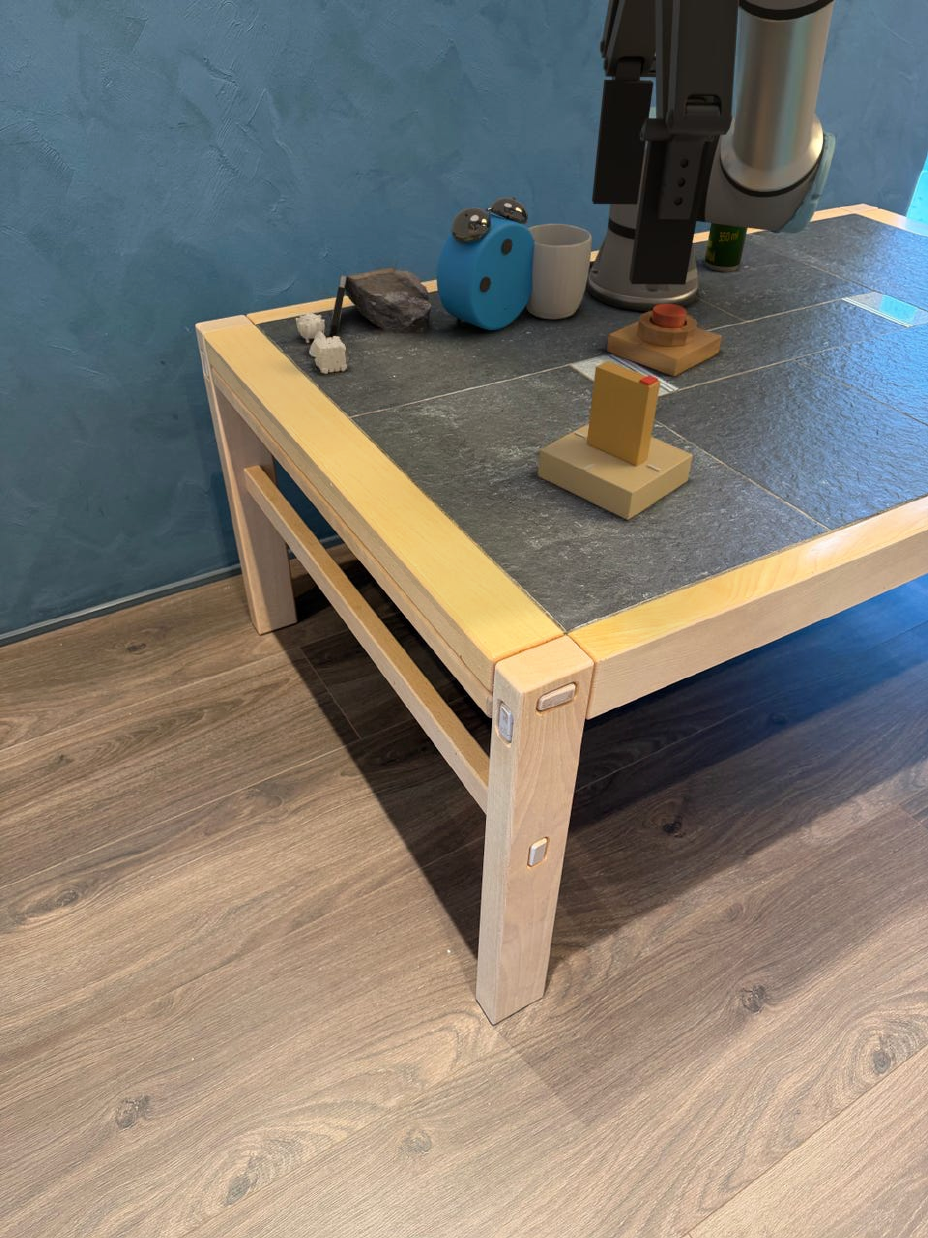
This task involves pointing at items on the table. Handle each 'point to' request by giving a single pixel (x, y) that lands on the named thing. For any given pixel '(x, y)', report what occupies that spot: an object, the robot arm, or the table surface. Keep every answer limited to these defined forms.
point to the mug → (558, 269)
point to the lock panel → (613, 473)
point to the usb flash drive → (337, 308)
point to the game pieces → (322, 344)
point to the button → (668, 316)
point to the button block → (664, 344)
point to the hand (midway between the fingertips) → (633, 238)
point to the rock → (391, 299)
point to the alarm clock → (487, 265)
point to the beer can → (725, 247)
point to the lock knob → (622, 412)
